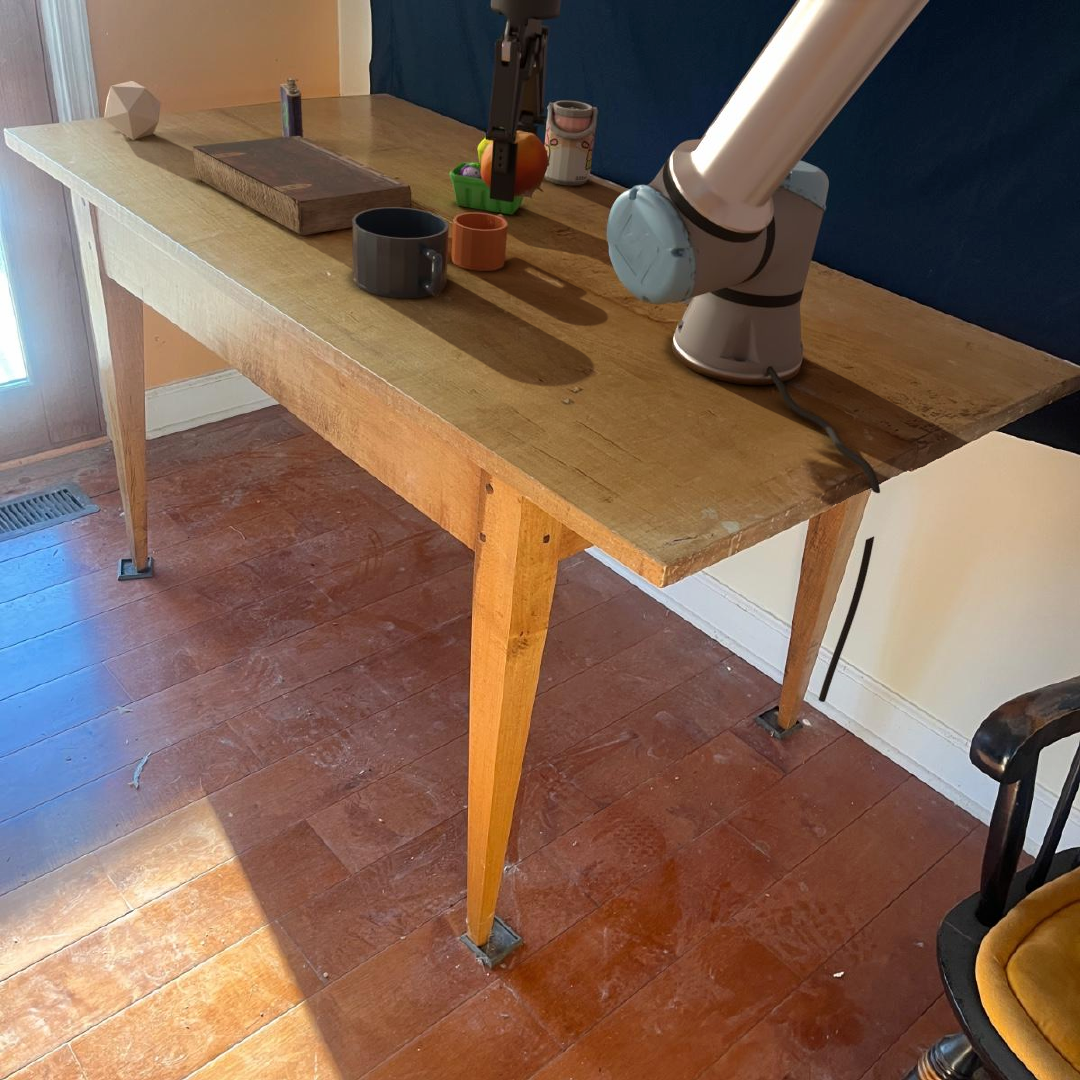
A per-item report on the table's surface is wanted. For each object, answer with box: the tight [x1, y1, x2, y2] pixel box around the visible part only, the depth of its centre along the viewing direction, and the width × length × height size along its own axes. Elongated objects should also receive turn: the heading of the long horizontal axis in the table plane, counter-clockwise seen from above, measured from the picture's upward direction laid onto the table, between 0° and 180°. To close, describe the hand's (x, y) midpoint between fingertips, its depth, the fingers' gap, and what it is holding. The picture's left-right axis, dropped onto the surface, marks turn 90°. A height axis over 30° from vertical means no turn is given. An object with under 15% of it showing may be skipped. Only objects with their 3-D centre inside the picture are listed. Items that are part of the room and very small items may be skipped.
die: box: [103, 80, 162, 141], centre depth 171 cm, size 8×9×10 cm
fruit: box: [481, 131, 548, 200], centre depth 121 cm, size 8×8×8 cm
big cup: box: [351, 207, 450, 299], centre depth 129 cm, size 15×12×8 cm
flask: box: [279, 77, 304, 138], centre depth 175 cm, size 9×3×11 cm, turn 21°
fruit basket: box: [449, 127, 524, 216], centre depth 158 cm, size 11×9×11 cm
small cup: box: [451, 211, 509, 272], centre depth 140 cm, size 10×7×6 cm
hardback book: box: [192, 136, 412, 236], centre depth 154 cm, size 29×19×5 cm, turn 44°
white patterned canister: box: [544, 100, 599, 187], centre depth 172 cm, size 9×8×12 cm
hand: (512, 189), depth 123 cm, fingers closed on fruit, 8 cm apart
